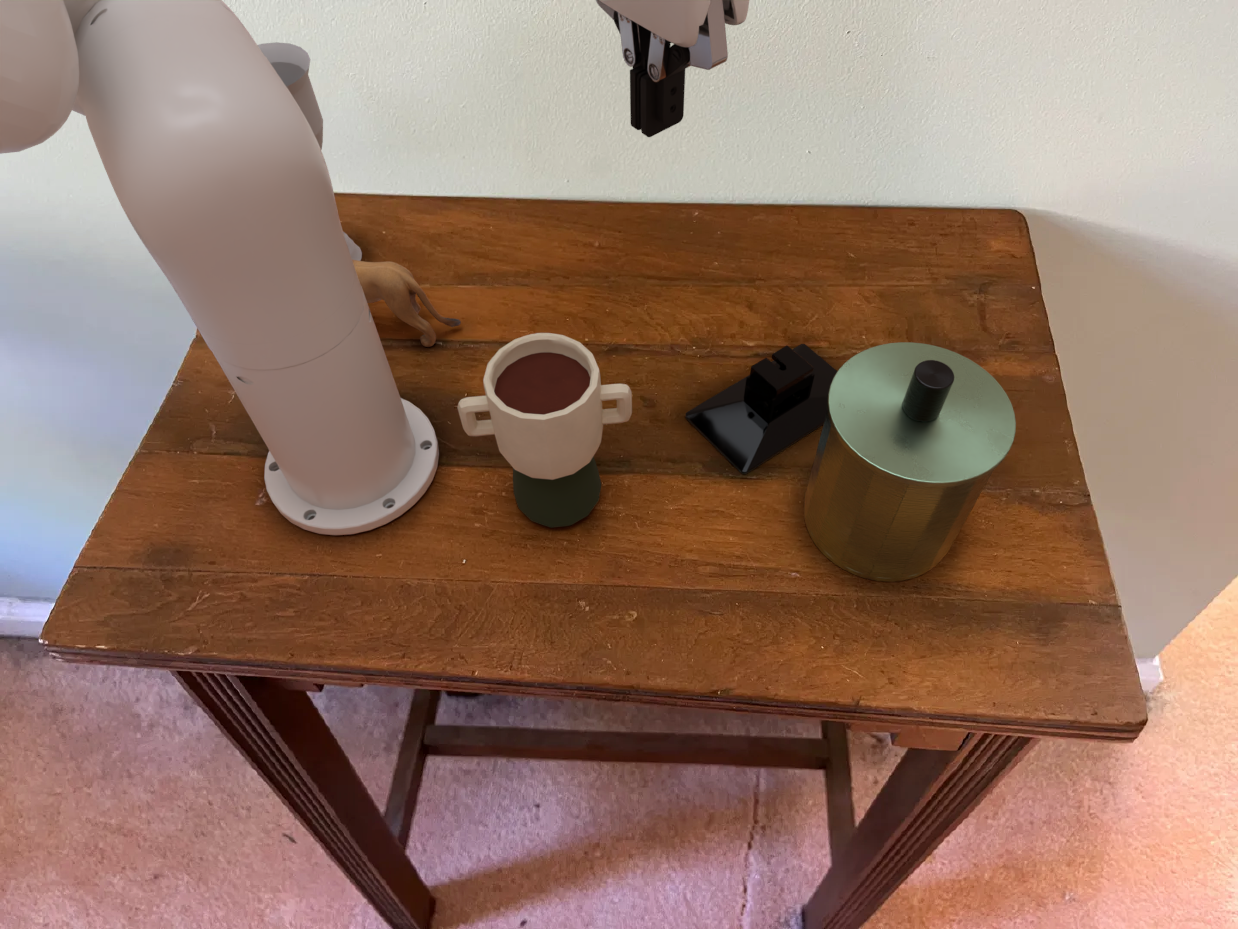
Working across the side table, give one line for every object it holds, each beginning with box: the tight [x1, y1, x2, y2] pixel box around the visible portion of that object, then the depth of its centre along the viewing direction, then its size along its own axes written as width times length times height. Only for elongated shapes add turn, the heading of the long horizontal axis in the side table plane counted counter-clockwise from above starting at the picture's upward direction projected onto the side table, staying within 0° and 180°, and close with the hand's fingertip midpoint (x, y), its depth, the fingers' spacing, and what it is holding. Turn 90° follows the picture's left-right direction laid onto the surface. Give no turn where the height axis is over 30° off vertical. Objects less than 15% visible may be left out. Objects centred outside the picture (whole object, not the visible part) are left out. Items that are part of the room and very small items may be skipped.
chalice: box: [257, 41, 363, 261], centre depth 71 cm, size 7×7×18 cm
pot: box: [803, 410, 994, 583], centre depth 56 cm, size 10×10×12 cm
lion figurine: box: [352, 260, 462, 348], centre depth 70 cm, size 15×5×9 cm, turn 88°
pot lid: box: [827, 341, 1017, 487], centre depth 50 cm, size 11×11×4 cm
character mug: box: [456, 332, 633, 529], centre depth 57 cm, size 11×7×13 cm, turn 96°
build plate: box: [684, 343, 838, 475], centre depth 65 cm, size 12×7×5 cm, turn 126°
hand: (657, 123), depth 57 cm, fingers closed
